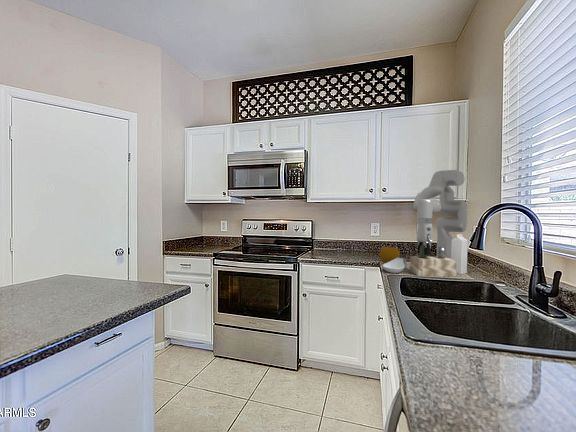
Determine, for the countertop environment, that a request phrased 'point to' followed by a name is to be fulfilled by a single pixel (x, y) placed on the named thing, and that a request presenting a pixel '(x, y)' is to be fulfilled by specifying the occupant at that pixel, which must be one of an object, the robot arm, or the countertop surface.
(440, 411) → the countertop surface
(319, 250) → the countertop surface
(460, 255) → the milk
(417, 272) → the beige woven basket
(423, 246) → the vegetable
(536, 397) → the countertop surface
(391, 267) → the spoon rest
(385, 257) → the apple
